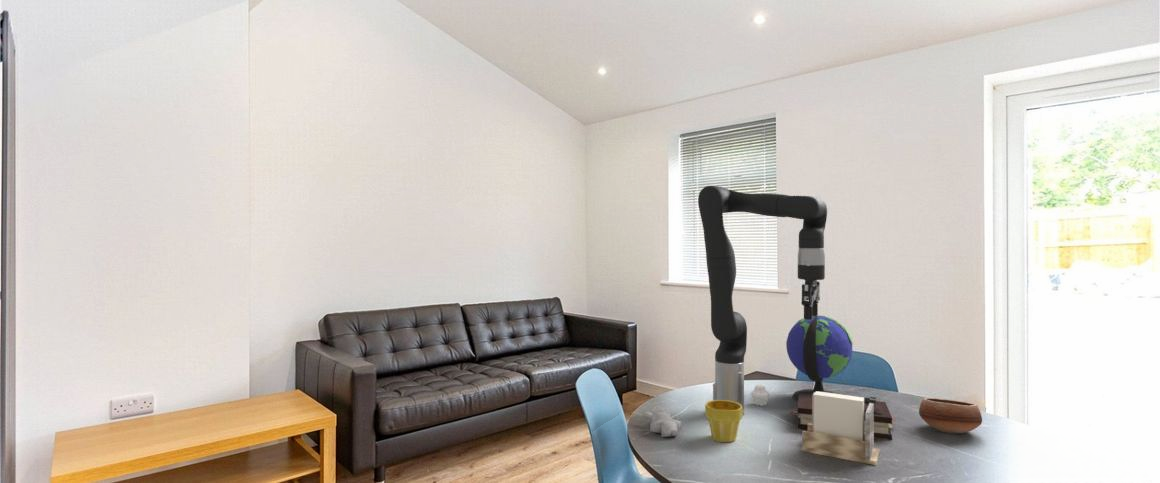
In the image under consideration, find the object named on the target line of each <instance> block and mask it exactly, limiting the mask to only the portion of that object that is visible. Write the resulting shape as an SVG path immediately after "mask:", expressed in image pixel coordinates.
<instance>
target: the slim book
mask: <svg viewBox="0 0 1160 483" xmlns="http://www.w3.org/2000/svg"><path fill="white" fill-rule="evenodd" d="M834 393H835V392H833V393H826V392H819V391H816V392H814V393H813V395H812V432H815V433H821V434H826V435H832V436H838V437H844V438H849V439H855V440H861V441H864V398H865V397H862V396H855V395H847V394H839V393H836V394H834Z"/></svg>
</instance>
